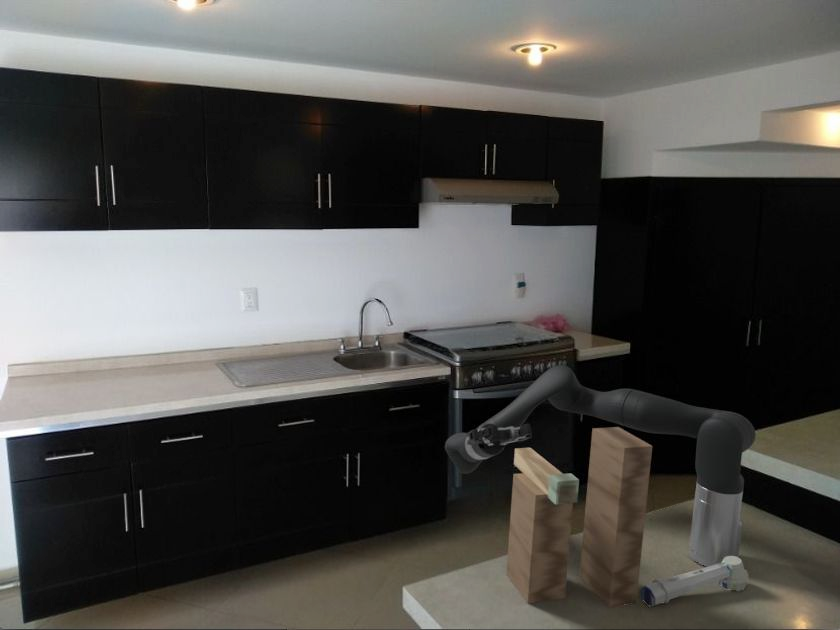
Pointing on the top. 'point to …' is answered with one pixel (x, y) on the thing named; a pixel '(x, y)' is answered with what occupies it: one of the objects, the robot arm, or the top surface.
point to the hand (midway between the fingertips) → (511, 429)
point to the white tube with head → (697, 581)
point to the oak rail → (547, 476)
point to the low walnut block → (538, 542)
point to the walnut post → (615, 514)
